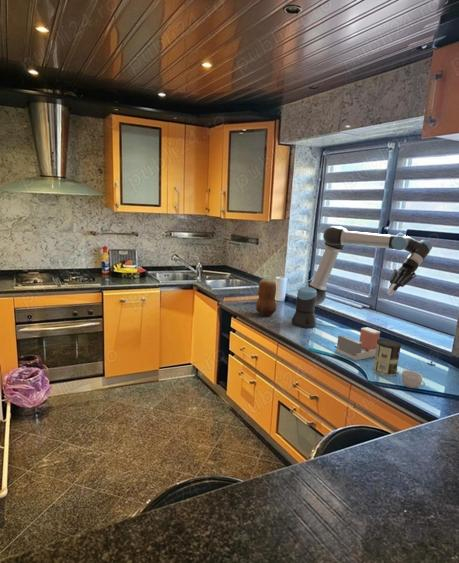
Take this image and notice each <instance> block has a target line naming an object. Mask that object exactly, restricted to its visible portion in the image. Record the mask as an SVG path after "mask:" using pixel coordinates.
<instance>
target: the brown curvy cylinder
mask: <svg viewBox="0 0 459 563" xmlns="http://www.w3.org/2000/svg"><path fill="white" fill-rule="evenodd" d="M257 294H258V299H257V301H256V305H255V307H256V312H258V314H260V315H262V316H264V317H270V316H272V315H273V314H275V313H276V311H277V303H276V294H277V284H276V281H275V280H274V279H266V278H263V279H260V280H259V283H258V293H257Z"/></svg>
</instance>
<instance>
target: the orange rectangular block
mask: <svg viewBox="0 0 459 563" xmlns="http://www.w3.org/2000/svg"><path fill="white" fill-rule="evenodd" d="M380 334H381V331H380V330H376V329H374V328H371V327H367V326H366V327H361V328H360V335H359V340H358V341H359V342H361V343H362V347H363V348H365V349H368V350H371V349H376V346H377V340H378V339H380Z"/></svg>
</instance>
